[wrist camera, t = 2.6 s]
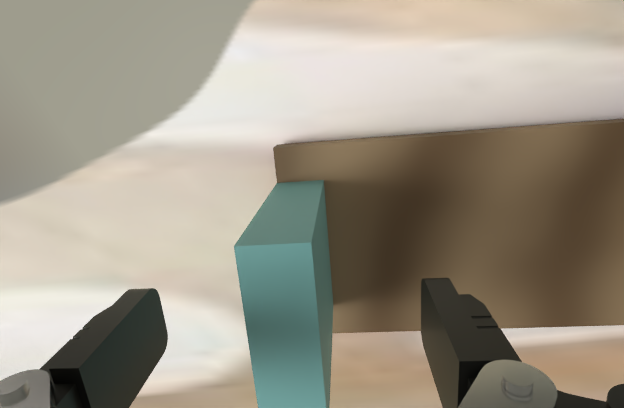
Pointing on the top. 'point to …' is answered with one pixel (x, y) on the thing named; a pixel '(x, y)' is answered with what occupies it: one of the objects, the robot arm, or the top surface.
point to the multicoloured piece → (429, 240)
